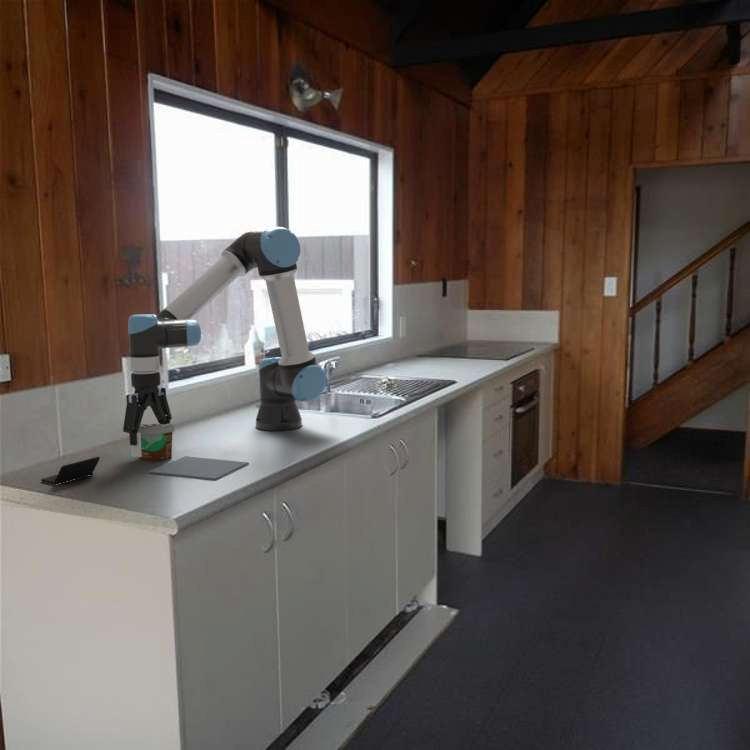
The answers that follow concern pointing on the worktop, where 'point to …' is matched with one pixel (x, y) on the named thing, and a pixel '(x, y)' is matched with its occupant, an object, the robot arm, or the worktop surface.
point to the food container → (156, 442)
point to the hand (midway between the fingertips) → (149, 451)
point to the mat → (199, 468)
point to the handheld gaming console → (73, 471)
